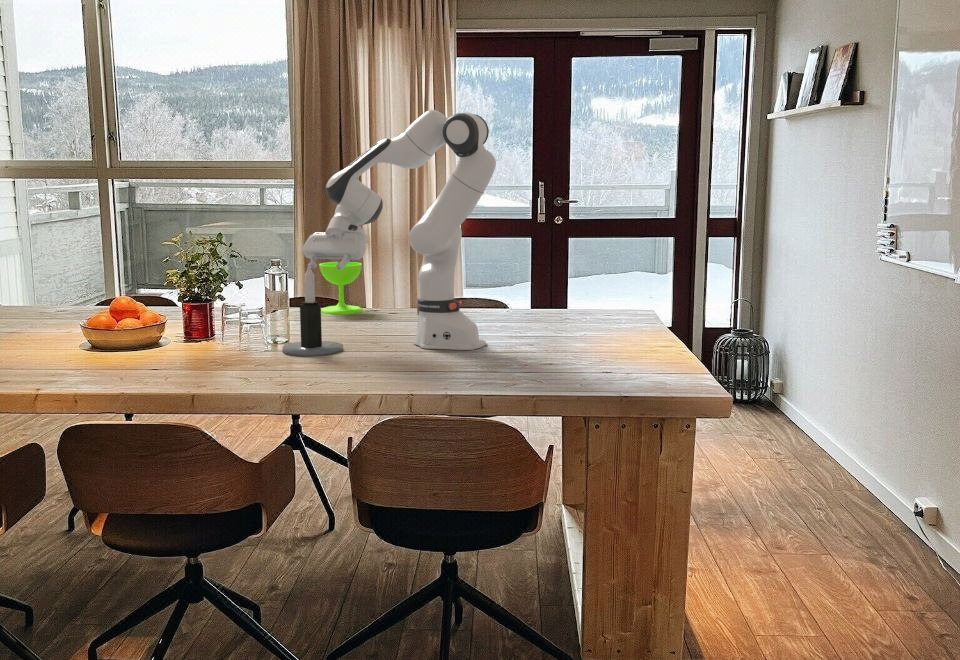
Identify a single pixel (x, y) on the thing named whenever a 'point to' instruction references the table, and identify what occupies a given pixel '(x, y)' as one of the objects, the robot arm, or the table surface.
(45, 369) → the table surface
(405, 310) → the table surface
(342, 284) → the wineglass
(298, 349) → the slate plate
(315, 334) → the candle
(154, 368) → the table surface
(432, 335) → the robot arm
